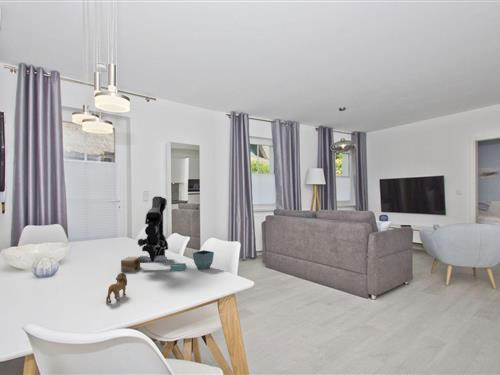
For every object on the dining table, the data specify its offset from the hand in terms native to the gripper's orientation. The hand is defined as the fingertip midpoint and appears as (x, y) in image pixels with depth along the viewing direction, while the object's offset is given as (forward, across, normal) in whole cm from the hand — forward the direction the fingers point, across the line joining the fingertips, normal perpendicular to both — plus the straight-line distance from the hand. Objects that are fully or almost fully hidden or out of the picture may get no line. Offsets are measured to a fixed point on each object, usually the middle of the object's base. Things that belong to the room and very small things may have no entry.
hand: (154, 260), depth 164 cm
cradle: (+5, 0, +14) cm, 15 cm away
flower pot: (+5, -2, +28) cm, 29 cm away
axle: (+1, 0, -1) cm, 1 cm away
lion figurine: (+5, +44, +1) cm, 44 cm away
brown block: (+5, 0, -14) cm, 14 cm away
